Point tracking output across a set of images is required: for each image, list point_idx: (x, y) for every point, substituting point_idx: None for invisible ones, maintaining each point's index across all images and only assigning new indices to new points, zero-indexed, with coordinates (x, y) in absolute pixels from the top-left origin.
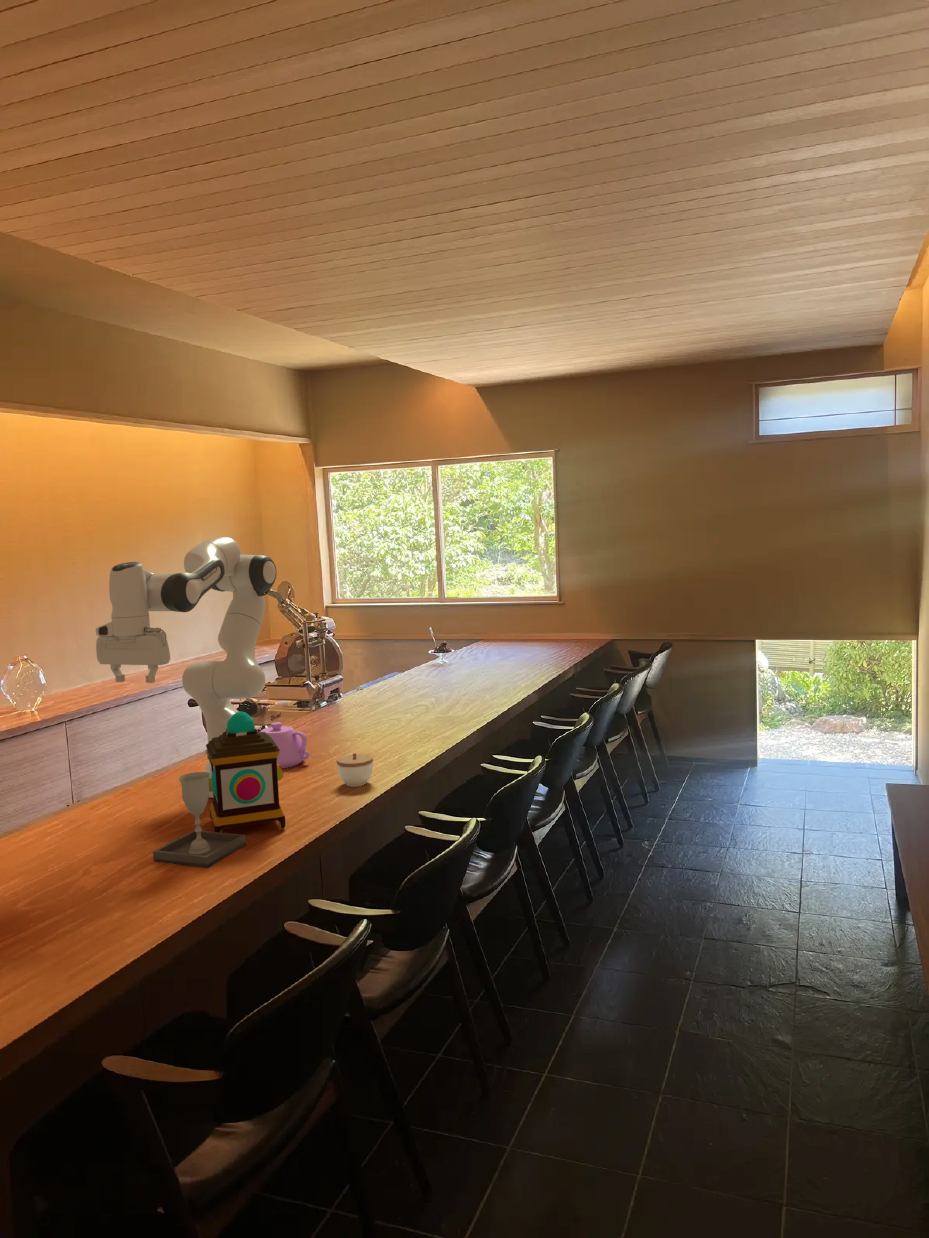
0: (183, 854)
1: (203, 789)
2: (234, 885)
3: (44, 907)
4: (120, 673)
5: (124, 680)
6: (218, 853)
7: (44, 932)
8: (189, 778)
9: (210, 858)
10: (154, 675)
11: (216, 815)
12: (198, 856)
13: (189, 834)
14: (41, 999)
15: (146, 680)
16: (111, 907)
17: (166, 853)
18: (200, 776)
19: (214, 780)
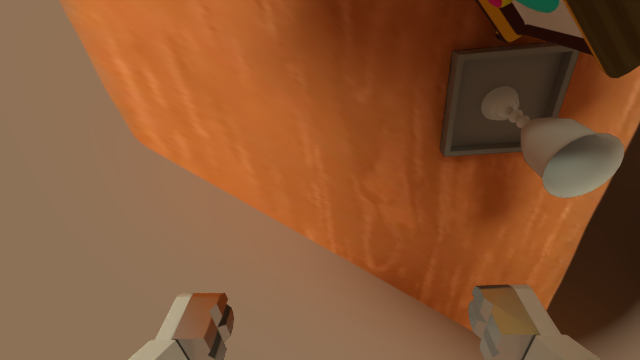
0: (501, 151)
1: (590, 157)
2: None
3: (400, 263)
4: (172, 356)
5: (222, 297)
6: None
7: (441, 290)
8: (551, 152)
9: None
10: (556, 333)
11: (510, 24)
12: None
13: (460, 76)
14: None
15: (481, 332)
16: (471, 248)
17: (469, 154)
18: (579, 135)
19: (538, 6)
